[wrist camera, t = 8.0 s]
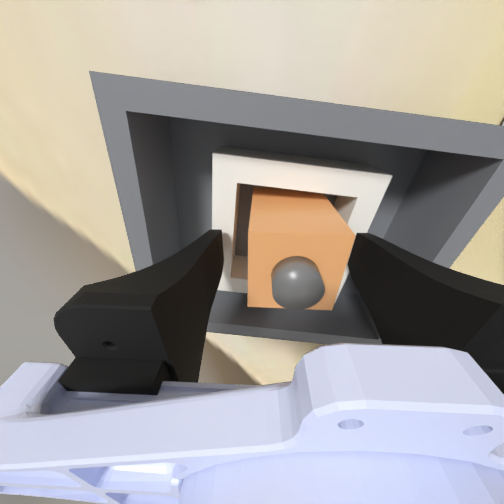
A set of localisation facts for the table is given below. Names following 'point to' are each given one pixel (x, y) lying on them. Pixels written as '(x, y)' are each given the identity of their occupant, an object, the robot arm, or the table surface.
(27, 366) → the robot arm
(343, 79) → the table surface
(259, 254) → the plug
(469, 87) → the table surface
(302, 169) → the bay
